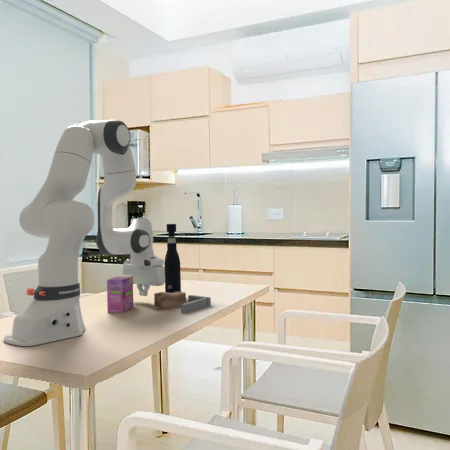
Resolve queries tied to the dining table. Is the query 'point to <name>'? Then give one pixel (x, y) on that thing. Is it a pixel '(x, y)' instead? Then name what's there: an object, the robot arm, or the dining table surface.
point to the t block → (169, 300)
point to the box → (120, 293)
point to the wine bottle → (172, 263)
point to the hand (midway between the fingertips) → (143, 295)
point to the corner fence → (195, 303)
